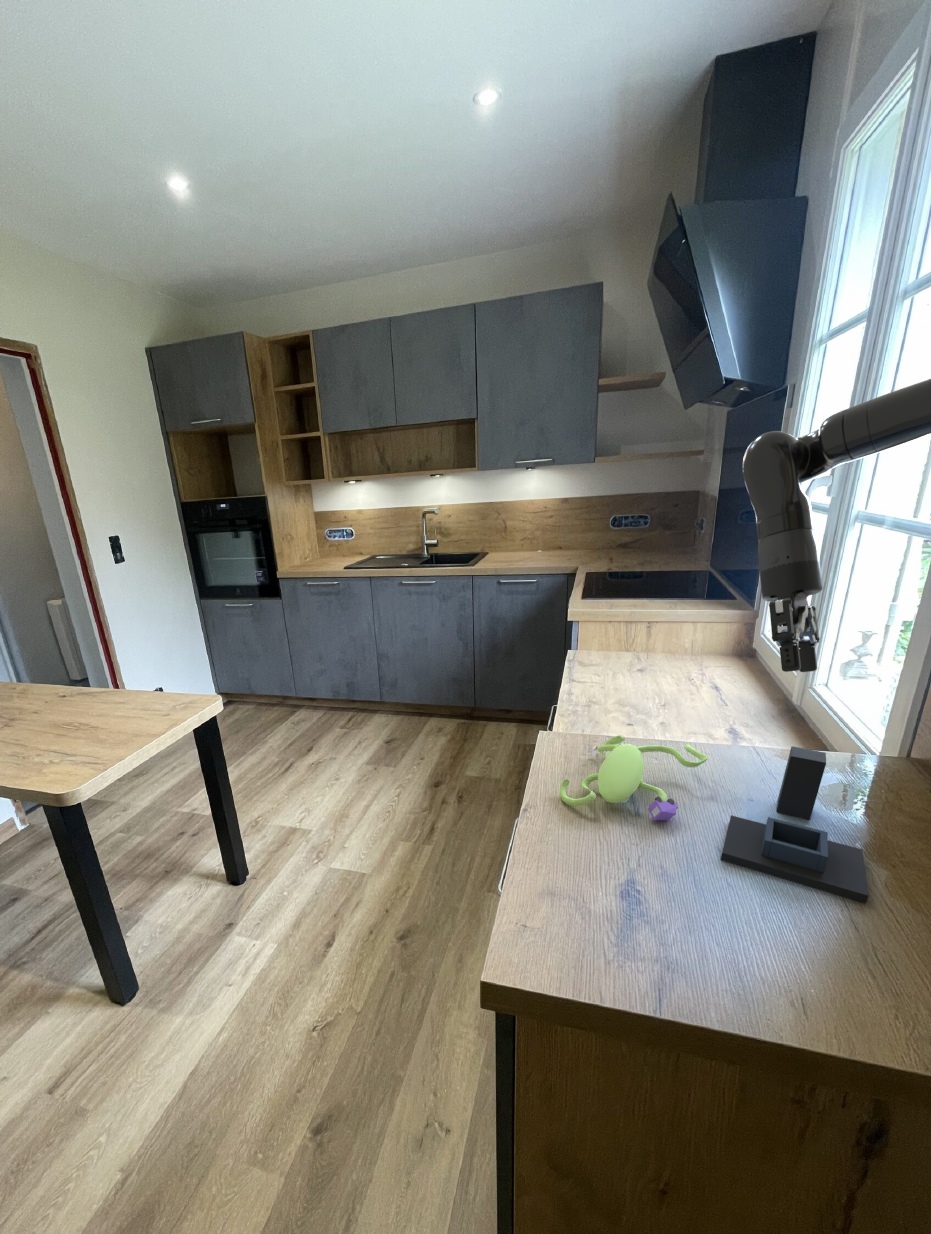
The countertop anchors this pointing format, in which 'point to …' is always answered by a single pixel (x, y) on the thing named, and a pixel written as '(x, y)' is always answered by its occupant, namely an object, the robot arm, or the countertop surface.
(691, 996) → the countertop surface
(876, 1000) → the countertop surface
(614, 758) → the figurine
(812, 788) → the black rectangular block
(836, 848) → the black socket base
